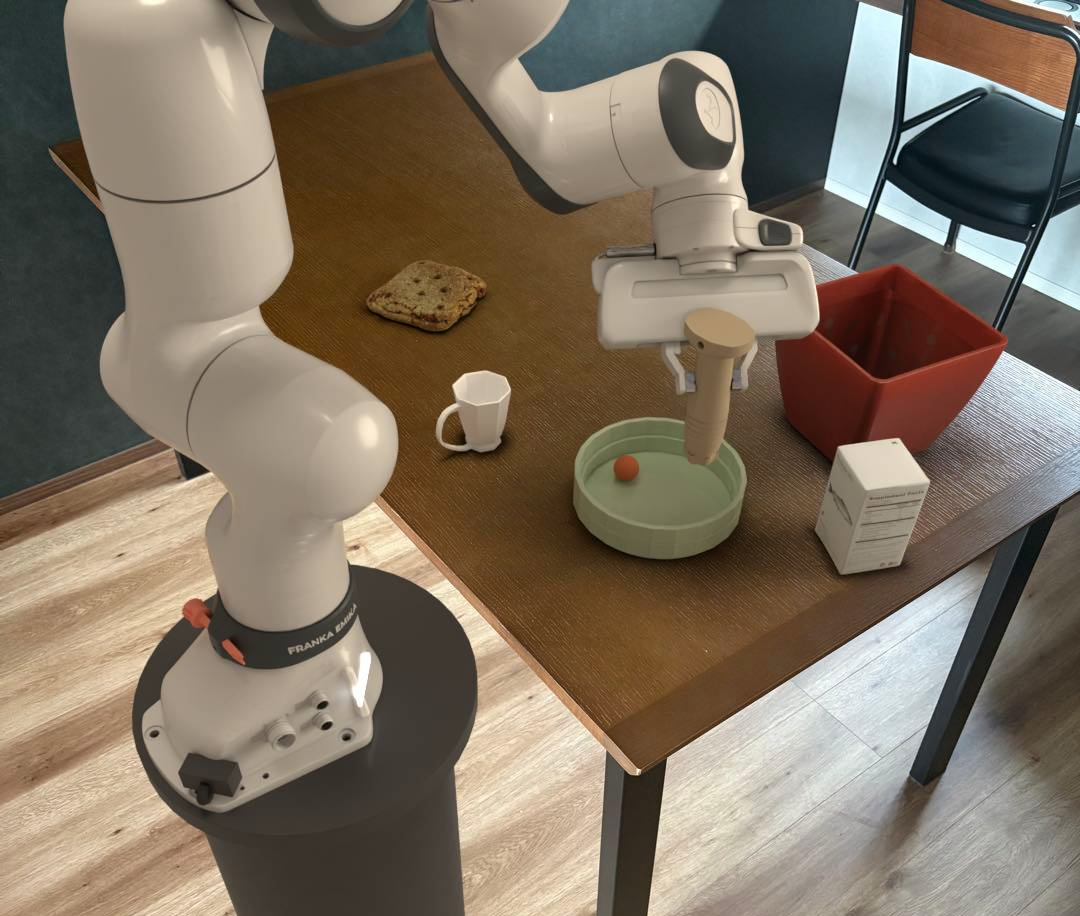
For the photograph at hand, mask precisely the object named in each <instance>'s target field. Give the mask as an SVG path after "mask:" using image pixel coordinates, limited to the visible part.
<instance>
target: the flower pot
mask: <svg viewBox="0 0 1080 916" xmlns="http://www.w3.org/2000/svg"><path fill="white" fill-rule="evenodd" d="M816 290H817V296H818V304H819V317H820V318H819V323H818V325H817V327H816V328H815V330H814V331H813V332H812V333H811V334H809V335H808V336H806V337H804V338H801V339H788V340H774V347H775V348H774V349H775V358H776V359H775V360H776V361H775V362H776V367H777V375H778V381H779V382H778V383H779V388H780V393H781V398H782V401H783V402H782V403H783V408H784V411H785V415H786V419H787V421H788V423H789V424H791V426H793V427H794V428H795V429H796V430H797V431H798V432H799V433H800V434H801V435H802V436H803V437H805V438H806V439H807V440H808V441H809V442H810V443H811V444H812V445H813V446H814V447H815V448H817V450H819V451H820V452H821V453H822V454H823V455H824V456H825V457H826V458H827V459H828V460H829V461H831V463H832V464H833V463H834V459H835V456H836V452H837V448H838V447H839V446H843V445H850V444H857V443H864V442H871V441H878V440H885V439H894V438H899V439H900V440H901V441H902V443H903V444H904V446H905V447H906V448H907V450H908V451H909V453H910V454H911V455H912V456H913V455H915V454H918V453H920V452H924V451H925V450H927V449H928V448H929V447H930V446H931V445H932V444H934V442H935V441H936V440H937V439H938V438H939V437H940V436H941V435H942V434H943V433H944V431H946V430H947V428H948V427H949V426H950V425H951V424H952V423H953V422H954V420H955V419H956V418H957V417H958V415H960V413H961V412H962V411H963V410H964V408H965V407H966V406H967V404H968V403H969V402H970V401H971V399H972V398H973V397H974V396H975V394H976V393H977V392H978V390H979V389H980V387H981V386H982V384H983V383H984V382H985V380H986V379H987V377H988V376H989V374H991V371H992V370H993V368H994V367H995V365H997V362H998V361H999V359H1000V358H1001V356H1002V354H1003V352H1004V350H1005V349H1006V347H1007V345H1008V343H1009V339H1008V337H1007V336H1006V335H1004V334H1003V333H1002V332H1000V331H999V330H998V329H996V328H995V327H994V326H992V325H991V324H989V323H988V322H986V321H985V320H983V318H980V317H979V316H978V315H977V314H975V313H973V312H972V311H971V310H969V309H967V307H965V306H963V305H962V304H960V303H959V302H957V301H956V300H954V299H953V298H952V297H950V296H948V295H947V294H945V293H944V292H943V291H941V290H940V289H938V288H936V287H935V286H934V285H932V284H931V283H930V282H928V281H926V280H925V279H924V278H922V277H921V276H919V275H918V274H916V273H915V272H913V271H912V270H911V269H909V268H908V267H906V266H904V265H902V264H900V263H899V264H898V263H892V264H887V265H883V266H880V267H877V268H873V269H869V270H865V271H862V272H858V273H855V274H852V275H848V276H844V277H840V278H837V279H834V280H830V281H826V282H823V283H819V284H816Z"/></svg>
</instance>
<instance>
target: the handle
mask: <svg viewBox="0 0 1080 916" xmlns="http://www.w3.org/2000/svg"><path fill="white" fill-rule="evenodd" d="M684 334H685V335H686V337H687V339H688V340H689V342H690V343H691V344H692V345H691V346H692V347H693V348H694V349H695V350H696V358H695V364H694V369H693V373H695V381H694V383H695V385H696V391H695V393H693V394H688V397H687V402H686V408H685V414H684V421H685V426H684V439H685V443H684V453H685V455H686V456H687V458H688V462H689V463H691V464H698V465H702V466H704V467H705V466H708V465H709V464H710V463H711V462H715V461H716V459H717V457H718V454H719V450H718V449H719V447H720V445H721V443H722V440H723V439H724V436H725V432H726V428H727V423H728V418H729V413H730V401H731V392H732V391H731V380H732V371H733V370H734V361H735V359H737V358H739V357H742V355H744V354H746V353H748V352H749V351H750V350H751V349H752V347H753V344H754V339H755V331H754V330H753V329H752V328H751V326H750V325H749V324H748V323H747V322H746V321H744V320H743V319H741V318H739V317H737V316H735V315H733V314H731V313H729V312H726V311H722V310H717V309H713V308H702V309H698V310H695V311H693V312H692V313H690V314H689V315H688V316H687V317H686V319H685V323H684ZM730 391H731V392H730Z"/></svg>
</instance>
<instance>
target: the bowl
mask: <svg viewBox="0 0 1080 916" xmlns="http://www.w3.org/2000/svg"><path fill="white" fill-rule="evenodd" d="M684 426H685V420H680V419H675V418H671V417H655V416H654V417H652V416H645V417H638V418H629V419H628V418H627V419H625V420H621V421H618V422H615V423H611V424H609V425H608V424H607V425H606V426H604V427H603V428H601V429H599V430H598V431H596V432H594V433H593V434H591V435H590V436H589V437H588V438H587V439H586V440H585V442H584V443H582V444H581V446H580V448H579V450H578V452H577V455H576V457H575V459H574V470H573V471H574V472H573V473H574V474H573V489H572V490H573V493H572V494H573V495H572V504H573V506H574V507H573V508H574V509H575V512H576V515H577V518H578V519H579V521H580V522H581V523H582V524H583V525H584V527H585V528H586V529H587V531H589V533H590V534H592V535H593V536H595V537H596V538H597V539H598V540H599V541H601V542H603V543H604V544H605V545H608V546H609V547H611V548H613V549H614V550H617V551H619V552H622V553H625V554H628V555H632V556H634V557H640V558H645V559H650V560H651V559H652V560H654V559H655V560H675V559H683V558H687V557H692V556H697V555H698V554H701V553H704V552H706V551H708V550H711V549H713V548H715V547H717V546H718V545H719V544H721V543H722V542H724V541H725V540H726V539H727V538H729V536H730V535H731V534H732V532H733V531H734V530H735V529H736V527H737V526H738V524H739V521H740V517H741V513H742V508H743V503H744V499H745V494H746V489H747V484H748V479H747V478H748V477H747V472H746V471H747V470H746V466H745V464H744V462H743V460H742V458H741V456H740V455H739V453H738V452H737V450H735V448H734V447H733V446H731V444H729V442H728V441H727V440H726V439H724V438H723V440H722V443H721V445H720V447H719V449H718V450H719V454H718V457H717V459H716V461H715V462H711V463H710V464H709V465H708V466H705V467H704V466H702V465H698V464H691V463H689V462H688V458H687V456H686V455H685V453H684V443H685V439H684ZM624 455H629V456H632V457H634V458H635V459H636V460H637V462H638V464H639V472H638V475H637V476H636V477H635V478H634V479H632V480H630V481H623V480H620V479H619V478H617V477H616V475H615V473H614V469H613V467H614V463H615V461H616V460H617V459H618V458H619V457H621V456H624Z"/></svg>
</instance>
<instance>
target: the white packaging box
mask: <svg viewBox="0 0 1080 916" xmlns="http://www.w3.org/2000/svg"><path fill="white" fill-rule="evenodd" d="M930 485H931V480H930V479H929V477H928V476H927V475H926V474H925V472H924V471H923V469H922V468H921V466H920V465H919V463H918V462H917V461H916V459H915V458H914V457H913V454H912V455H911V454H910V453H909V451H908V450H907V448H906V447H905V446H904V444H903V443H902V441H901V440H900V439H899V438H894V439H885V440H878V441H871V442H864V443H857V444H850V445H843V446H839V447H838V448H837V452H836V456H835V459H834V463H833V462H832V467H831V470H830V474H829V477H828V481H827V485H826V489H825V492H824V495H823V499H822V503H821V506H820V510H819V513H818V517H817V520H816V524H815V527H814V531H815V533H816V535H817V537H818V538H819V539H820V541H821V542H822V544H823V546H824V548H825V550H826V551H827V553H828V555H829V556H830V558H831V560H832V562H833V564H834V566H835V567H836V570H837V571H838V574H839V575H850V574H856V573H862V572H869V571H870V572H871V571H875V570H882V569H887V568H895V567H899V566H900V565H901V563H902V561H903V558H904V554H905V552H906V550H907V547H908V544H909V541H910V539H911V536H912V533H913V530H914V528H915V525H916V523H917V520H918V517H919V514H920V511H921V508H922V506H923V503H924V500H925V499H926V496H927V492H928V490H929V487H930Z"/></svg>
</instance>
